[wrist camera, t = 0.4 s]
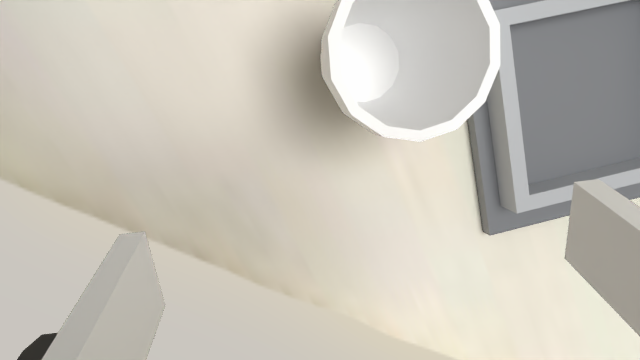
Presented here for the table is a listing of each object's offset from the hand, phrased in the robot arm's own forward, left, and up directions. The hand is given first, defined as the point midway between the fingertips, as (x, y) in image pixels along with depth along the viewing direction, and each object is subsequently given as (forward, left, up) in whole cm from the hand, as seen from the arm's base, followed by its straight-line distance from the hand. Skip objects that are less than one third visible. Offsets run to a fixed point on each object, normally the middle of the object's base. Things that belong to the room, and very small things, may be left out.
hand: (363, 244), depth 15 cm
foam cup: (-5, +7, -24) cm, 26 cm away
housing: (+1, +24, -24) cm, 34 cm away
